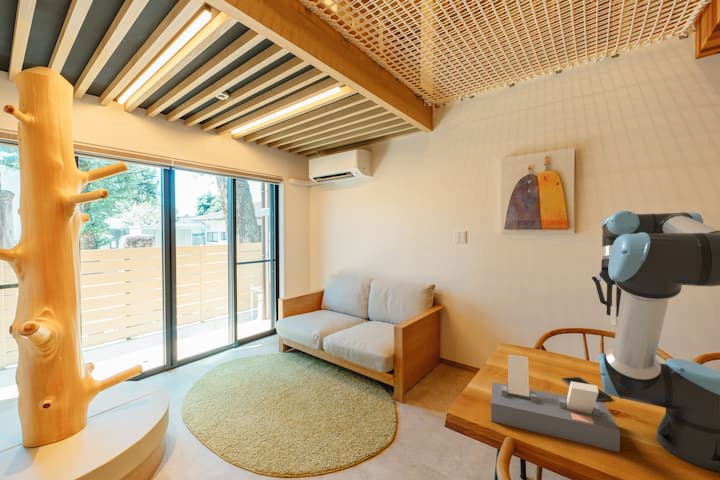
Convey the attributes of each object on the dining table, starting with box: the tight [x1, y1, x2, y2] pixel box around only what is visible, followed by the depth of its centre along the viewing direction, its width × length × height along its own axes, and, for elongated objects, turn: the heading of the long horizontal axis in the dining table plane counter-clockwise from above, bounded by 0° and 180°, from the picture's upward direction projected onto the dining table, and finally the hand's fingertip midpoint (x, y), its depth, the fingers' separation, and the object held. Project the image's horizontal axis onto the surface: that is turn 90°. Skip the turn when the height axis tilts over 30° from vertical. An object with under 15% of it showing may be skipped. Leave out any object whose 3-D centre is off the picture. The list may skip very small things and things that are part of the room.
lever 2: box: [566, 381, 599, 414], centre depth 87 cm, size 2×6×12 cm
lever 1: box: [507, 353, 530, 397], centre depth 99 cm, size 2×6×12 cm, turn 65°
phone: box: [562, 376, 613, 402], centre depth 111 cm, size 8×1×15 cm
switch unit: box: [490, 381, 621, 453], centre depth 94 cm, size 14×32×8 cm, turn 64°
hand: (613, 325), depth 103 cm, fingers closed
